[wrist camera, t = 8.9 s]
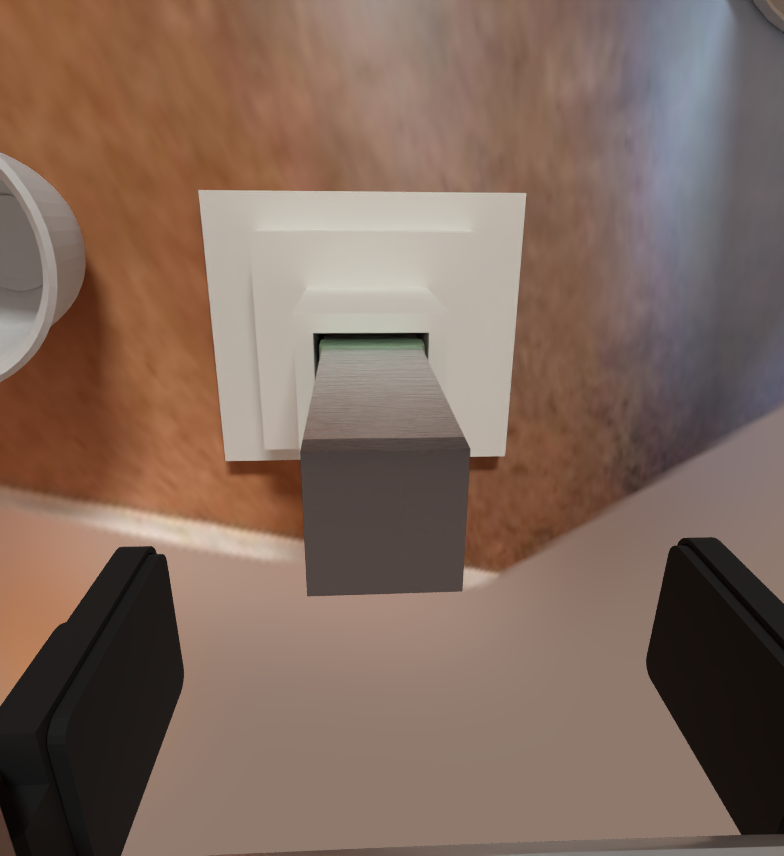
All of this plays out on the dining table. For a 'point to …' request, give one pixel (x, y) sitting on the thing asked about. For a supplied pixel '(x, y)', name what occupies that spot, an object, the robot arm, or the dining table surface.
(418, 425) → the post
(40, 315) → the teacup
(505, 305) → the stand
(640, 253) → the dining table surface
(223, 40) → the dining table surface
